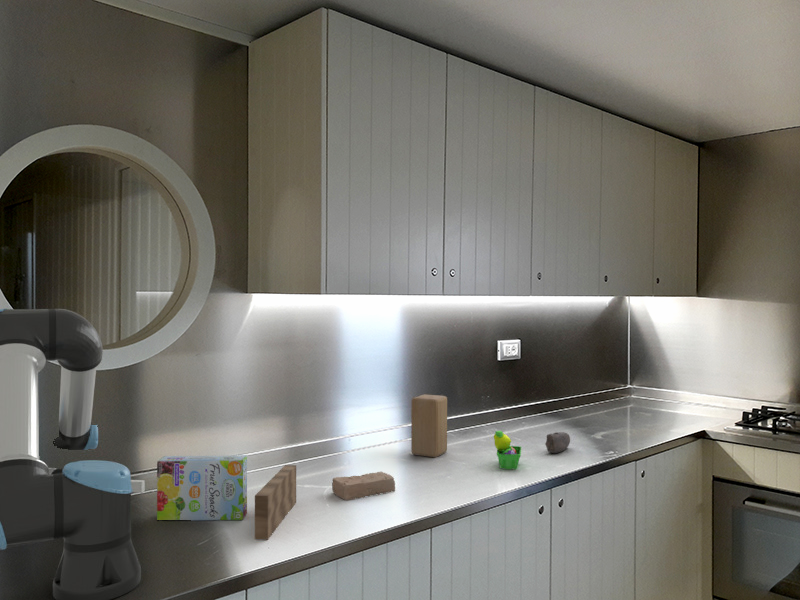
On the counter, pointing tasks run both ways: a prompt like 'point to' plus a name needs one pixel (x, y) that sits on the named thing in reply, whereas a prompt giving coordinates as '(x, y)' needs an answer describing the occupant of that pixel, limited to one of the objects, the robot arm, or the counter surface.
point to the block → (429, 425)
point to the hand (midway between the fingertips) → (143, 486)
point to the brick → (363, 485)
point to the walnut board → (275, 502)
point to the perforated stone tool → (557, 442)
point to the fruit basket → (506, 451)
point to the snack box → (202, 487)
